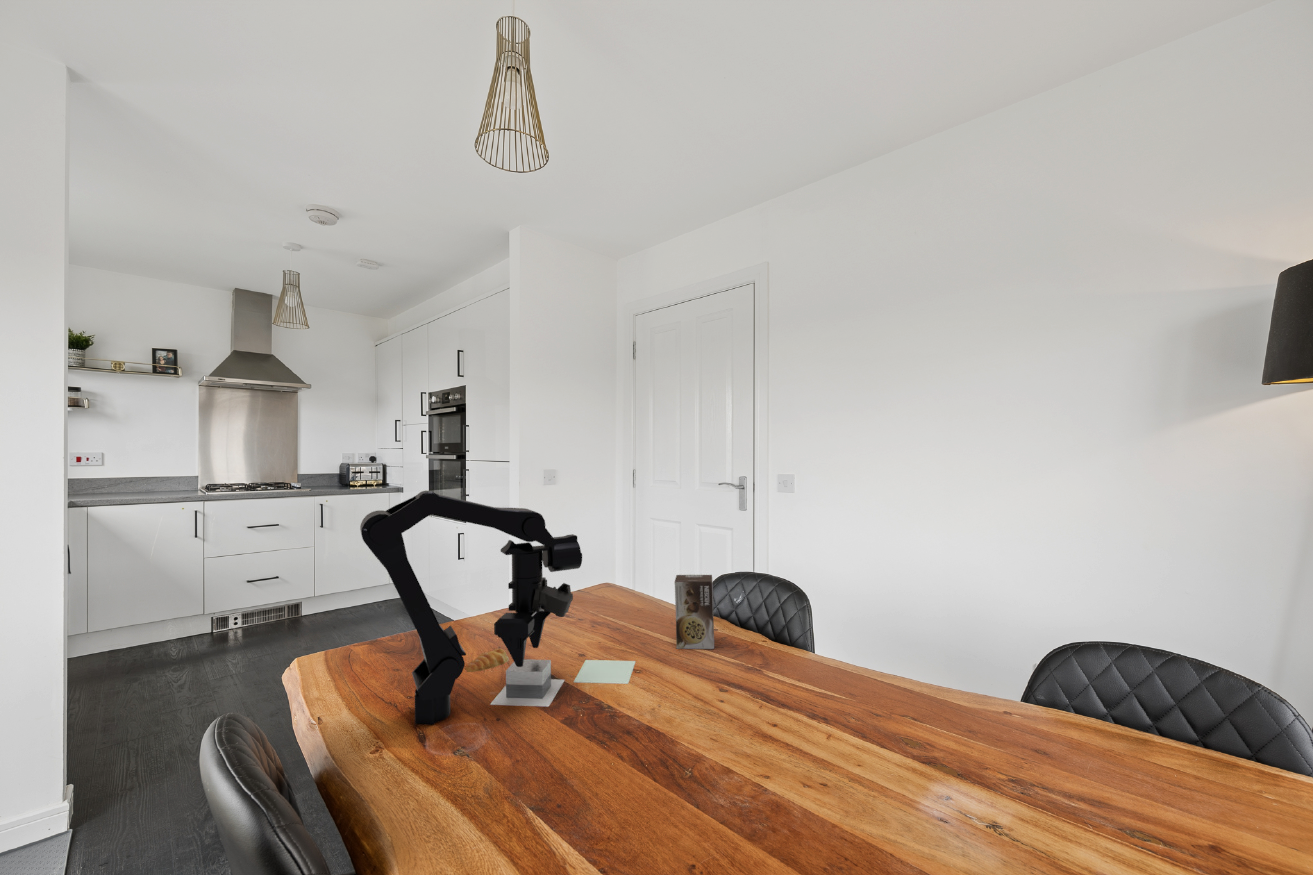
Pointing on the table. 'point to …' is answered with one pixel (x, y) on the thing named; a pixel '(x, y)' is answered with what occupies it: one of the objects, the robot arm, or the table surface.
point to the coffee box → (694, 612)
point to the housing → (528, 679)
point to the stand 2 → (605, 672)
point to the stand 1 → (545, 701)
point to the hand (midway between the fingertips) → (528, 656)
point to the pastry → (487, 660)
